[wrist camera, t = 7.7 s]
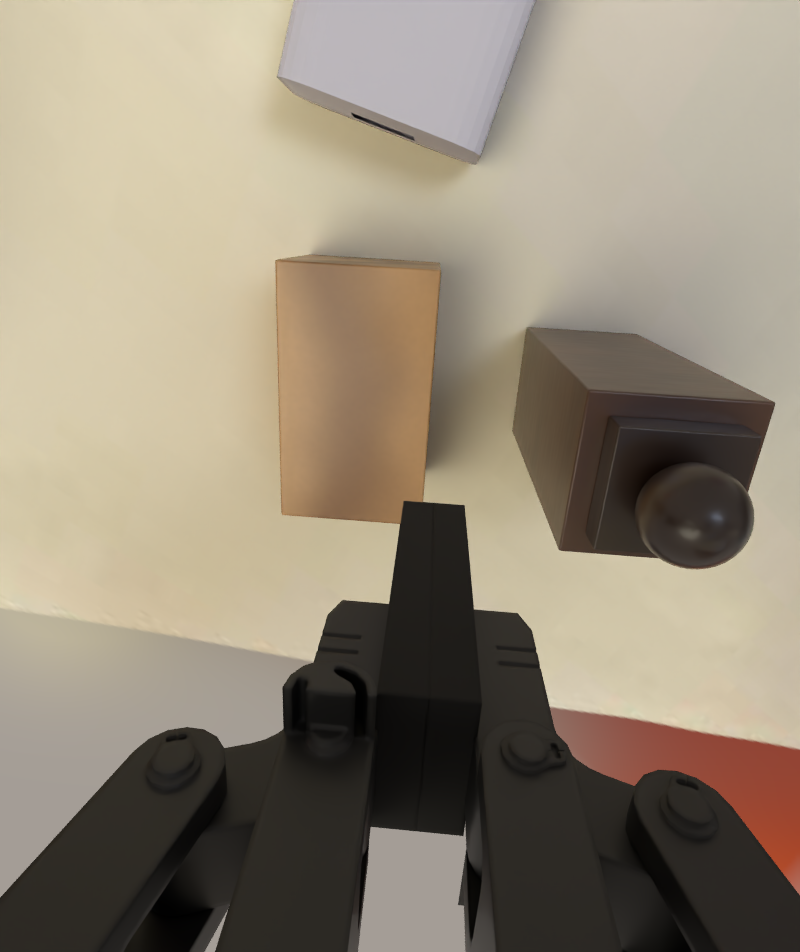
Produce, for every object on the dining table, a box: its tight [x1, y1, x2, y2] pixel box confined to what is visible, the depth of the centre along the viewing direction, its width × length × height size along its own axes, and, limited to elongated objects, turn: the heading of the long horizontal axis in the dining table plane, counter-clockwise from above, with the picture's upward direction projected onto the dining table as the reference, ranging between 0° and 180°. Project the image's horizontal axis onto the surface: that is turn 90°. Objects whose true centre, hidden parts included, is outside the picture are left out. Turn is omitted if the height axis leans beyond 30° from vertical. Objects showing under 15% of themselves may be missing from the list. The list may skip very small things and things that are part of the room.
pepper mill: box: [512, 327, 775, 569], centre depth 25 cm, size 14×6×17 cm
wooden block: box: [275, 255, 441, 524], centre depth 30 cm, size 7×12×7 cm, turn 177°
